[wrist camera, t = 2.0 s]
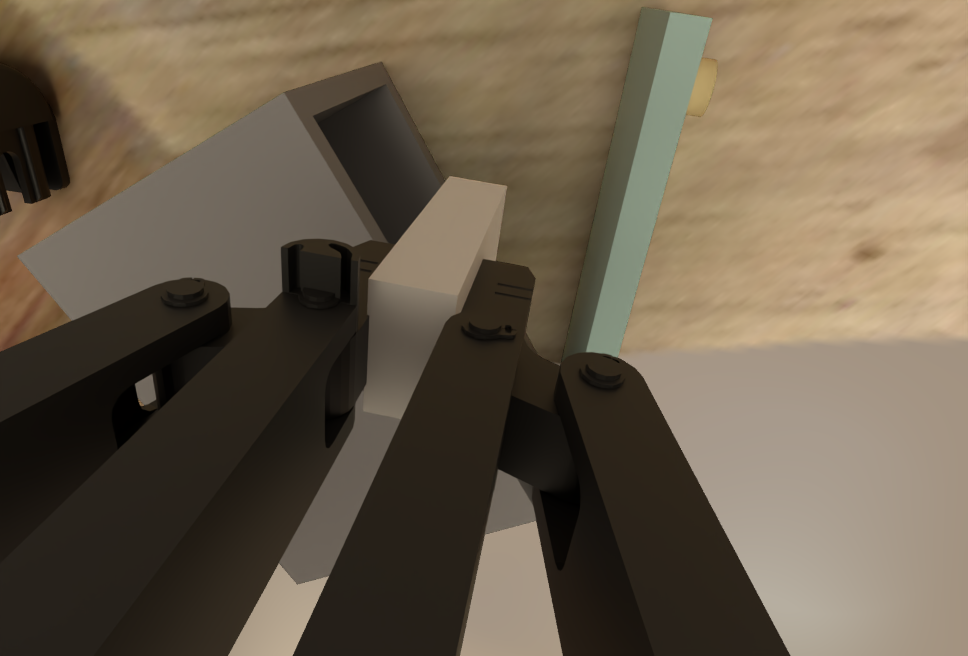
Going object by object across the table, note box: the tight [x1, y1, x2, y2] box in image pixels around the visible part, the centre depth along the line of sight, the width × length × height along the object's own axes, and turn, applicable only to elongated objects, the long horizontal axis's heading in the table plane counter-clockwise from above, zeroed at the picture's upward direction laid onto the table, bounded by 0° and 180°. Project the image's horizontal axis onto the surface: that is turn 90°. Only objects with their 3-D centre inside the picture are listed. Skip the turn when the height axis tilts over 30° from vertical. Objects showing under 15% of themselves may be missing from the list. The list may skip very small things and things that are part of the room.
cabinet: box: [17, 62, 537, 584], centre depth 31 cm, size 14×20×11 cm
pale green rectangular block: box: [561, 7, 718, 363], centre depth 27 cm, size 3×20×10 cm, turn 173°
